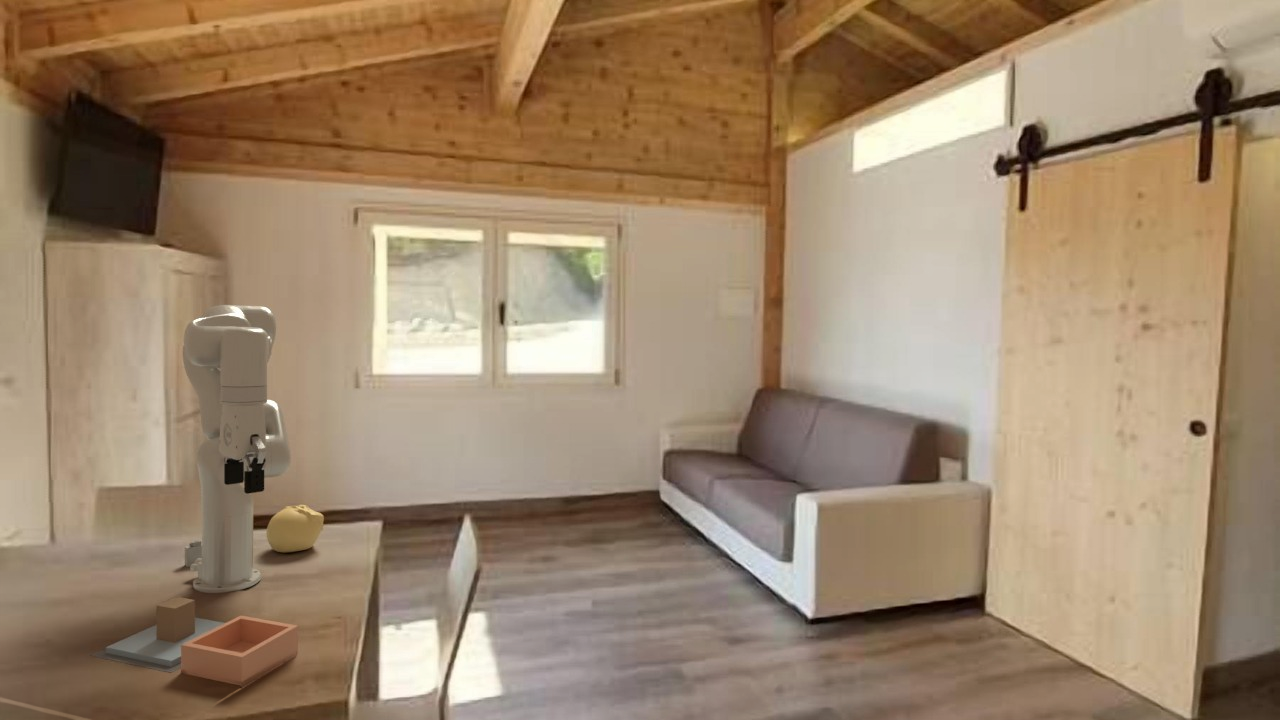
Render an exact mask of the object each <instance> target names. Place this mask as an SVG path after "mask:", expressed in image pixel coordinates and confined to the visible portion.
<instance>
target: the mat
mask: <svg viewBox="0 0 1280 720" xmlns="http://www.w3.org/2000/svg"><path fill="white" fill-rule="evenodd" d="M90 657H94V658H99V659H104V660H108V661H111V662H112V661H113V662H118V663H122V664H127V665H130V666H131V665H132V666H136V667H141V668H145V669H152V670H156V671H160V672H164V673H165V672H166V673H169V674H171V673H173V672H175V671H177V670H179V669H181V662H180V663H178V664H176V665H174V666H172V667H171V666H166V665H161V664H156V663H152V662H147V661H142V660H137V659H132V658H128V657H123V656H118V655H113V654H109V653H106V648H104V649H102V650H99V651H97V652H95V653H93V654H90Z"/></svg>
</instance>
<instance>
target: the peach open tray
mask: <svg viewBox="0 0 1280 720" xmlns="http://www.w3.org/2000/svg"><path fill="white" fill-rule="evenodd" d="M224 623H225V624H223V625H221V626H219V627H216V628H214V629H212V630H210V631H208V632H206V633H204V634H202V635H200V636H198V637H196V638H194V639H192V640H190V641H188V642H186V643H184V644H182V645H181V668H180V673H181V674H184V675H189V676H193V677H199V678H203V679H208V680H213V681H217V682H218V681H219V682H223V683H227V684H231V685H235V686H236V685H237V686H239V689H243V688H245V687H246V686H248V685H250V684H252V682H254V681H256V680H259V678H261V677H262V676H265V675H266V674H268V673H269V672H271V671H273V670H274V669H276V668H277V667H279V666H281V665H282V664H284V663H286V662H287V661H289V660H290V659H291V658H294V657H295V656H297V655H299V654H298V653H299V652H298V649H299V647H298V646H299V643H298V642H299V625H298V624H291V623H285V622H279V621H275V620H274V621H273V620H270V619H269V620H268V619H263V618H257V617H252V616H247V615H239V616H236V617H235V618H233V619H231V620H229V621H227V622H224Z"/></svg>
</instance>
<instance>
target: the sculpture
mask: <svg viewBox="0 0 1280 720" xmlns="http://www.w3.org/2000/svg"><path fill="white" fill-rule="evenodd" d="M324 521H325V516H324V514H322V513H321V512H318V511H315V510H313V509H311V508H310V507H309V506H308V505H305V504H298V505H290V506H289V505H286V506H284V508H283V509H282V510H279V511H278V512H277V513H276V514H274V515H273V516H272V517H271V519H270V520H269V523H268V524H267V527H266V539H267V543H268V545H269V546H270V547H271V548H272V550H274V551H275V552H278V553H293V552H299V551H305V550H309V549H311V548H312V547H313V546H314V545H315V544H316V542H317V540H318V539H319V536H320V534H321V533H322V532H323V530H324Z"/></svg>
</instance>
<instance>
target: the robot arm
mask: <svg viewBox="0 0 1280 720" xmlns="http://www.w3.org/2000/svg"><path fill="white" fill-rule="evenodd" d="M276 321H277V320H276V318H275V316H274V314H273V311H271V309H269V308H268V307H265V306H260V305H242V304H236V305H235V304H219V305H214V306H212V307H209V308H207V309H206V310H205V312H203V314H202V316H201V318H197V319H193V320H191V321H190V322H189V323H188V324H187V325H186V328H185V331H184V333H183V335H184V336H183V346H182V361H183V367H184V370H185V374H186V376H187V379H188V380H189V382H190V384H191V386H192V387H193V389H194V391H195V392H196V395H197V396H198V404H199V405H198V406H199V413H200V415H199V416H200V423H201V429H202V434H203V435H204V437H205V438H206V440H205V441H204V442H202V443H201V444H200V446H198V448H197V451H196V465H197V469H198V476H199V482H200V493H201V543H202V558H197V559H196V560H195V563H194V564H191V566H190V567H189V570H190V571H193V572H194V571H195V572H196V571H197V577H196V578H195V579H194V580H193V581H192V588H193V589H194V590H195V591H198V592H199V593H200V592H201V593H205V594H206V593H207V594H220V593H229V592H230V593H231V592H233V591H234V592H235V591H241V590H244V589H247V588H248V589H249V588H251V587H253V586H254V585H255V586H256V584H257V583H259V582H260V581H261V579H262V572H261V571H259V570H258V569H256V568H254V499H253V498H252V495H251V494H255V493H260V492H264V491H265V479H269V478H278V477H280V476H283V475H286V473H287V472H288V471H289V469H290V467H291V462H292V461H291V458H292V457H291V455H292V454H291V447H290V444H289V443H290V442H289V438H288V432H287V428H286V424H285V419H284V414H283V411H282V407H281V406H280V405H279V403H277V402H276V401H274V400H273V399H268V363H269V362H270V359H271V355H272V352H273V351H272V350H273V347H274V342H275V340H276V335H277V322H276ZM242 483H244V484H243V486H244V487H243V486H242V485H241V484H242Z"/></svg>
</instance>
